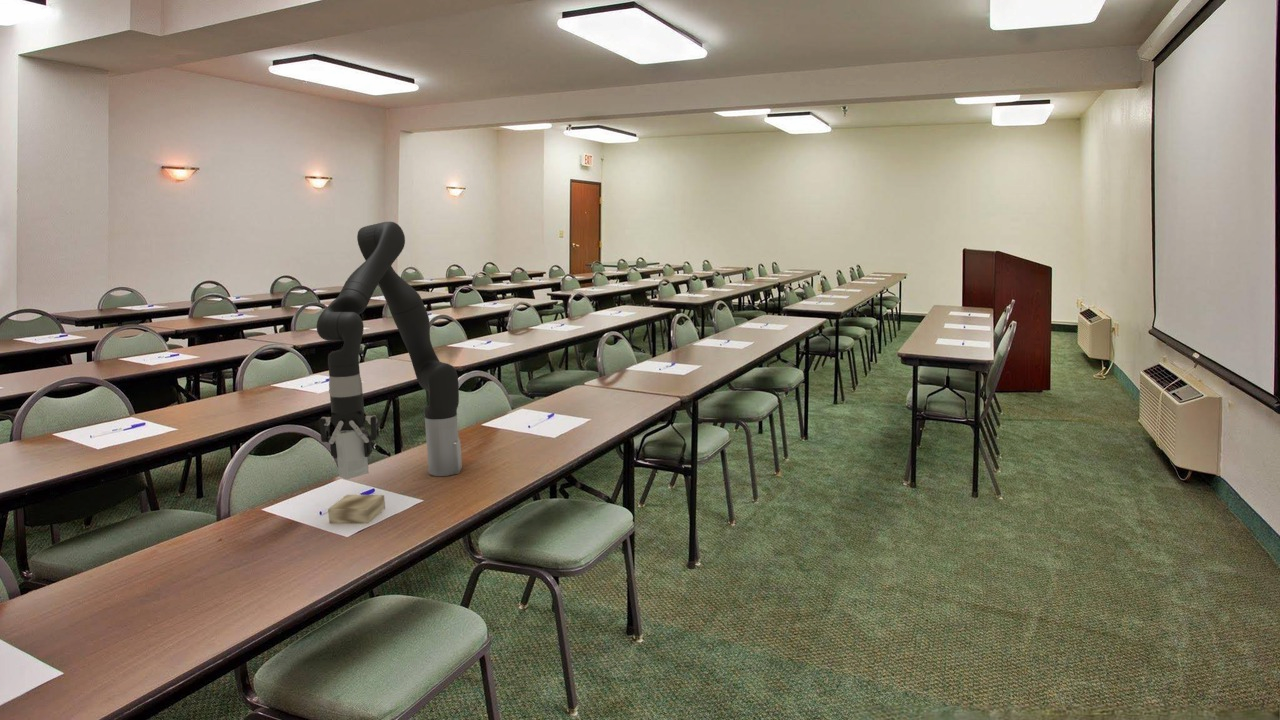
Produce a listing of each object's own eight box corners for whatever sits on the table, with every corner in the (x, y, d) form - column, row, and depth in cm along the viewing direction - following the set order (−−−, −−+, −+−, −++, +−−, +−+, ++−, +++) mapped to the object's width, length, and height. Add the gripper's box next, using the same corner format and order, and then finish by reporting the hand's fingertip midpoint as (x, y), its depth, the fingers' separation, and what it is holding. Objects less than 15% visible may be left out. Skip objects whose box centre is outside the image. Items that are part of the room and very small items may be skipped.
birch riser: (385, 509, 190) (383, 494, 190) (368, 524, 181) (367, 508, 180) (348, 509, 191) (346, 494, 190) (329, 524, 181) (327, 508, 181)
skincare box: (360, 470, 188) (356, 424, 186) (369, 474, 185) (365, 427, 183) (337, 477, 183) (333, 430, 181) (346, 480, 180) (342, 433, 178)
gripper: (380, 388, 185) (385, 451, 187) (321, 390, 184) (327, 453, 186) (371, 394, 177) (377, 460, 180) (310, 396, 176) (317, 462, 179)
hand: (352, 456), depth 183 cm, fingers closed on skincare box, 7 cm apart
